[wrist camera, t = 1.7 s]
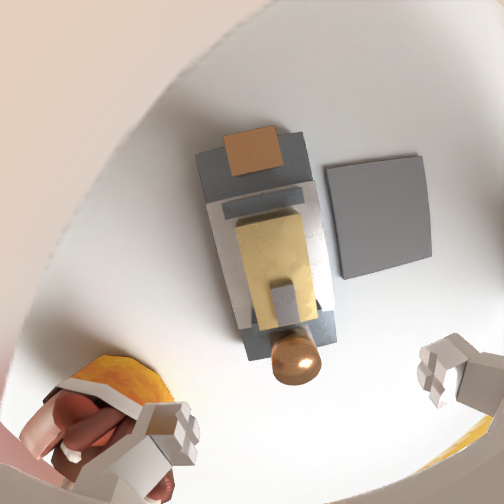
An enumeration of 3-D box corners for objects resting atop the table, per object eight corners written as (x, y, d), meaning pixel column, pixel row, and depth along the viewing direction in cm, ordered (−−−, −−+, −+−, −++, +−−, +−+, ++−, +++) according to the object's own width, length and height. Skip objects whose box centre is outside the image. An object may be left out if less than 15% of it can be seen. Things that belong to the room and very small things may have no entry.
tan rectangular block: (237, 219, 23) (234, 229, 18) (292, 207, 22) (302, 214, 18) (258, 308, 25) (260, 336, 20) (308, 297, 24) (320, 323, 20)
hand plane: (201, 157, 25) (172, 145, 15) (296, 136, 24) (322, 113, 15) (249, 345, 30) (248, 410, 20) (329, 327, 29) (357, 386, 20)
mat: (419, 156, 25) (421, 156, 24) (428, 254, 27) (431, 256, 27) (324, 169, 25) (326, 169, 25) (342, 277, 28) (344, 279, 27)
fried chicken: (154, 441, 35) (124, 542, 16) (66, 382, 32) (4, 470, 13) (227, 378, 31) (212, 532, 12) (111, 295, 28) (-2, 412, 9)
